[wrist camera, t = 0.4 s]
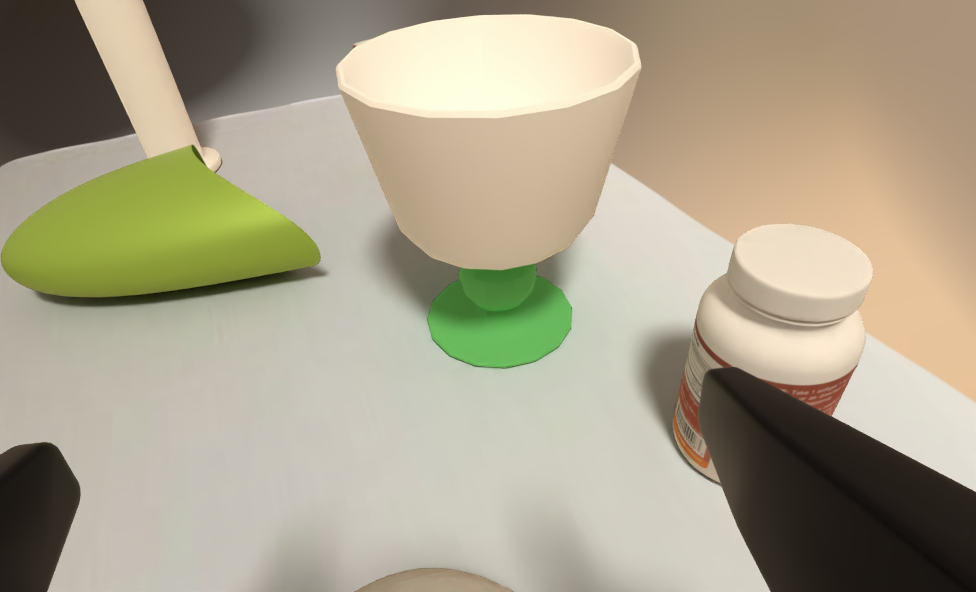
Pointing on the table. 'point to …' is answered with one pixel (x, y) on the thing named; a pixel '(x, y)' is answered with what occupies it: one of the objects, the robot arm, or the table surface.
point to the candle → (142, 76)
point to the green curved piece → (153, 233)
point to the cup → (493, 161)
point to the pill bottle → (778, 323)
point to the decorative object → (433, 582)
